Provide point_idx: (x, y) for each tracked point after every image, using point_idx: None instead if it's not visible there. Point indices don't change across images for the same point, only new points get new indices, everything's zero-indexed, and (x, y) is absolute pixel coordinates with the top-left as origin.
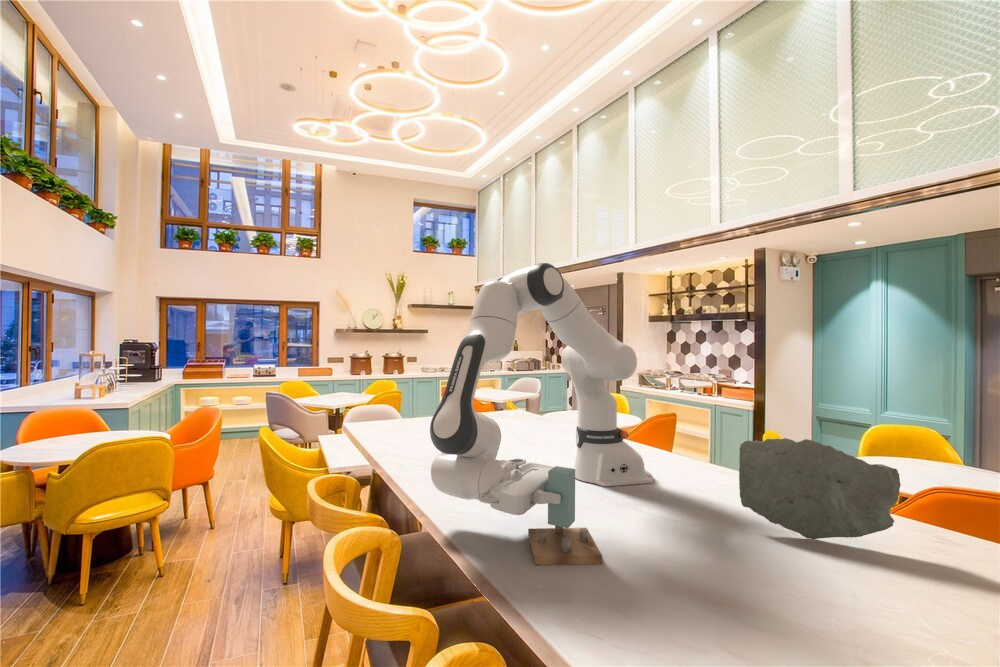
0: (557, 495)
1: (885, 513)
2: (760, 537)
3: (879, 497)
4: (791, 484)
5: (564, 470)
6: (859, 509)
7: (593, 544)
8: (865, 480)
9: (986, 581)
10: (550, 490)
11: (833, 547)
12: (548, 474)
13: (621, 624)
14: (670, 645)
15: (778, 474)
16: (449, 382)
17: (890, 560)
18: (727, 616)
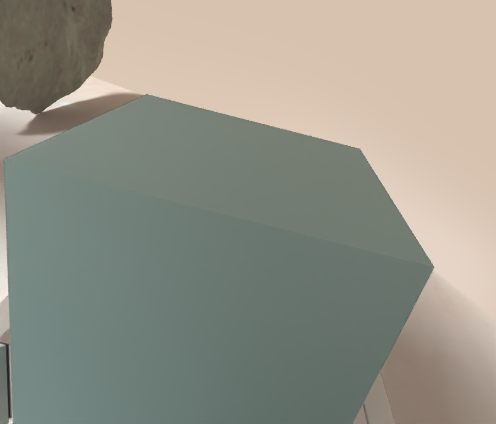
0: (378, 378)
1: (102, 48)
2: (25, 139)
3: (102, 26)
4: (32, 23)
5: (248, 142)
6: (87, 49)
7: None
8: (95, 3)
9: (143, 95)
10: None
11: (69, 113)
12: (406, 314)
13: (476, 368)
14: (458, 308)
15: (19, 5)
16: None
17: (106, 105)
18: None
